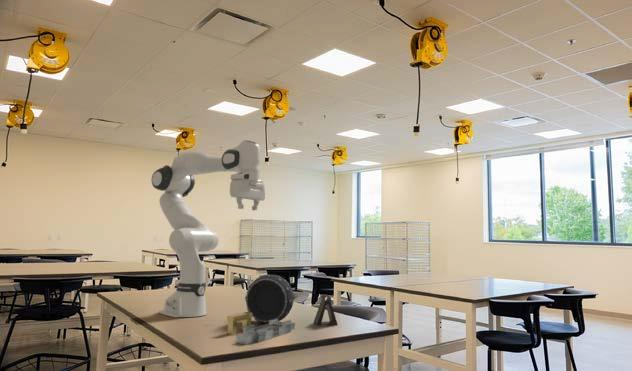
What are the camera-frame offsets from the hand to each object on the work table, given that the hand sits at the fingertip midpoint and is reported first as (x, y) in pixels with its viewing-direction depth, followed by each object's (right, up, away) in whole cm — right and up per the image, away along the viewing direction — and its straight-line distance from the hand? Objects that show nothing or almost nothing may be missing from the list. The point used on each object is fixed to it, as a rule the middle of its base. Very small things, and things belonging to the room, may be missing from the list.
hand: (247, 209), depth 181 cm
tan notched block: (0, -45, -21) cm, 50 cm away
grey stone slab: (+12, -45, -25) cm, 53 cm away
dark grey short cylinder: (+10, -48, -3) cm, 49 cm away
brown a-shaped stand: (+33, -49, -2) cm, 59 cm away
